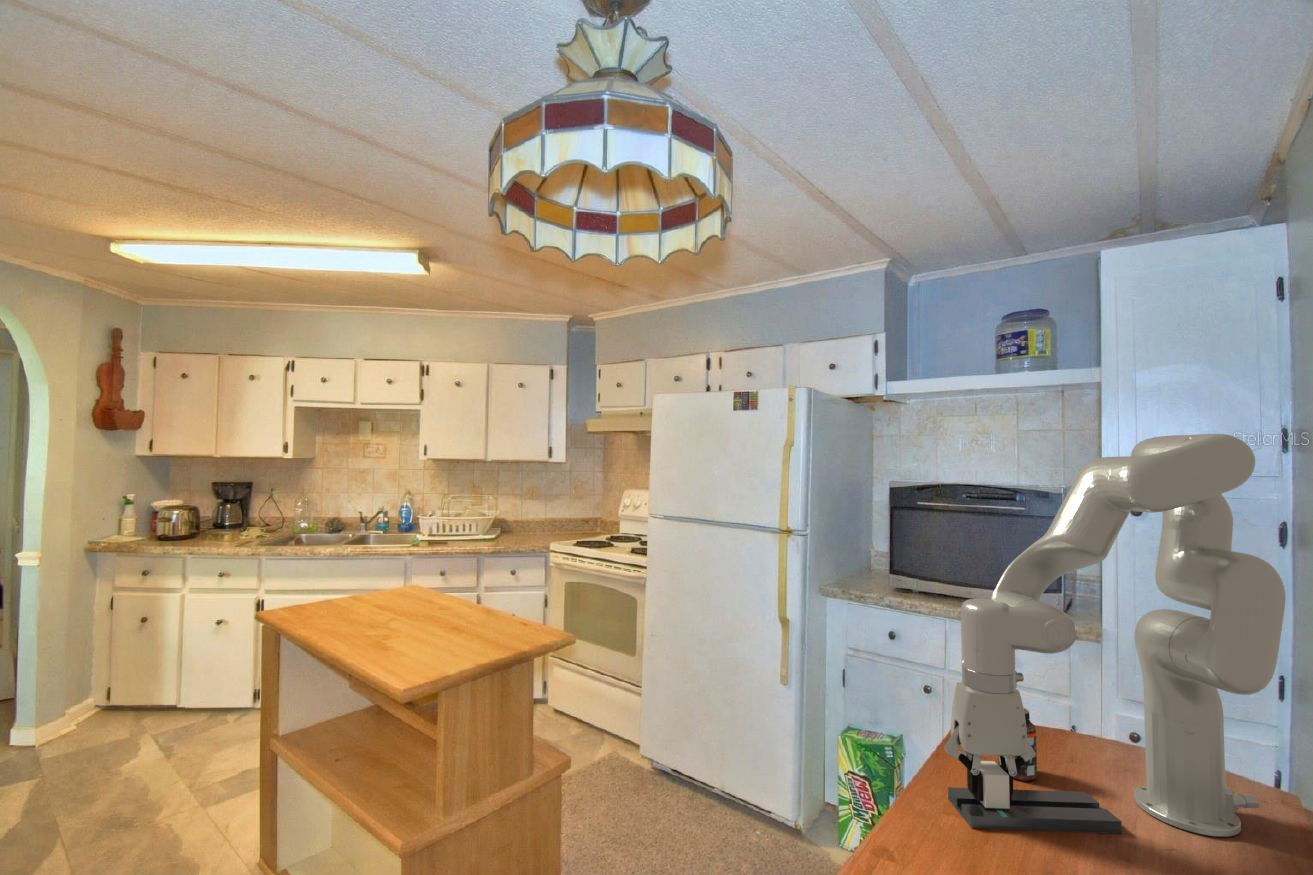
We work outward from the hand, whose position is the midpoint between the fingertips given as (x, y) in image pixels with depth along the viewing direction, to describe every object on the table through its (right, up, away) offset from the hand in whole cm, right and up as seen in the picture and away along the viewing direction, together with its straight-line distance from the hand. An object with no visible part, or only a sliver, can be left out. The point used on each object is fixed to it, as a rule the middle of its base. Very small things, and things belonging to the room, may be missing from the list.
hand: (990, 795), depth 94 cm
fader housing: (+6, -3, 0) cm, 7 cm away
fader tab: (0, -2, 0) cm, 2 cm away
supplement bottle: (+12, -4, +12) cm, 17 cm away
